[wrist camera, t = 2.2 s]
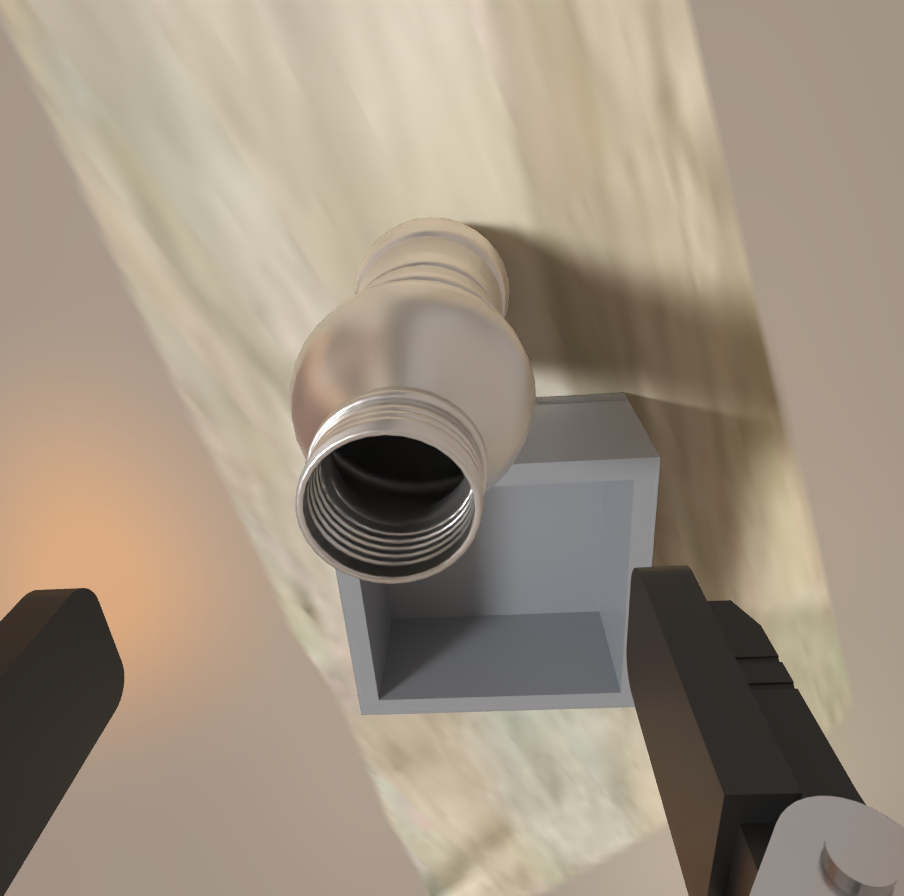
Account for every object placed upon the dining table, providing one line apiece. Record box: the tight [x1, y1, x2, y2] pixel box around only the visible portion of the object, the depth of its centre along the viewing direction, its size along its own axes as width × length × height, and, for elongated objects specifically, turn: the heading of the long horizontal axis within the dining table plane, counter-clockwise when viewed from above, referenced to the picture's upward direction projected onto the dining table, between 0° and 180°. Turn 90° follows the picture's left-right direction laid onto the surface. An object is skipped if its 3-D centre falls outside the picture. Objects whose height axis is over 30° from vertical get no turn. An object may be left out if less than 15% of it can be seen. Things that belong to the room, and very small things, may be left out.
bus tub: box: [335, 393, 661, 715], centre depth 33 cm, size 14×14×7 cm
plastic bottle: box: [290, 218, 536, 584], centre depth 22 cm, size 6×7×20 cm
